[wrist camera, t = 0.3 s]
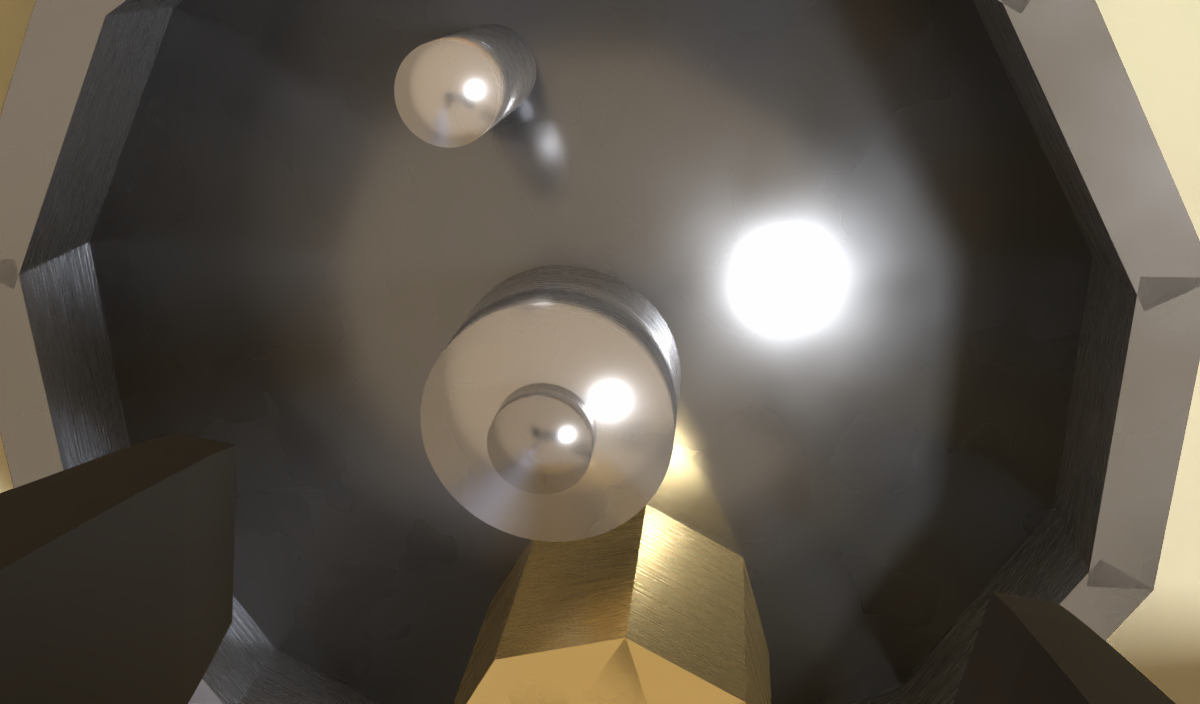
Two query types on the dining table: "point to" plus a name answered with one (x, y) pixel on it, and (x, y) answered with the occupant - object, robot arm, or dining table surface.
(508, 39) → the pin
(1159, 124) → the dining table surface
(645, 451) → the carrier
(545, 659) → the planet gear
